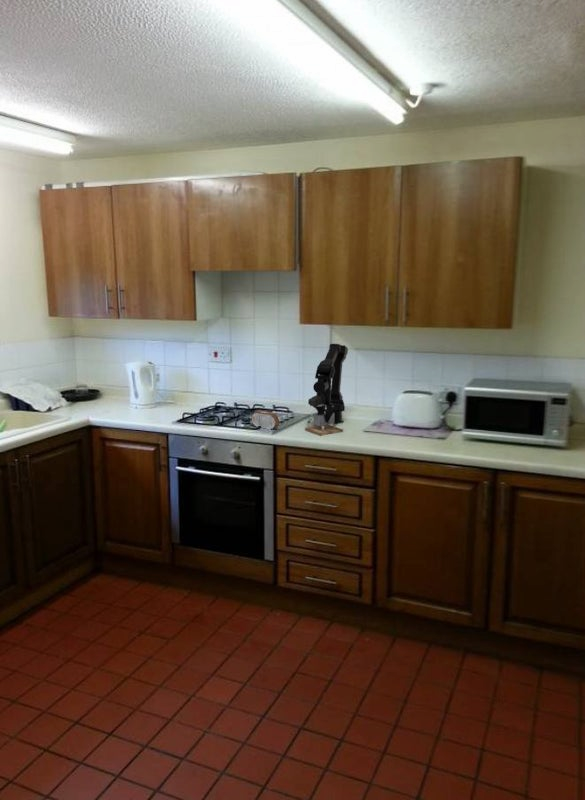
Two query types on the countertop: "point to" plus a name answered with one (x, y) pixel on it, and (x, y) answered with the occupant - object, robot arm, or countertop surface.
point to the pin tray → (323, 429)
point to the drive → (322, 419)
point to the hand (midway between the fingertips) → (324, 421)
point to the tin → (265, 419)
